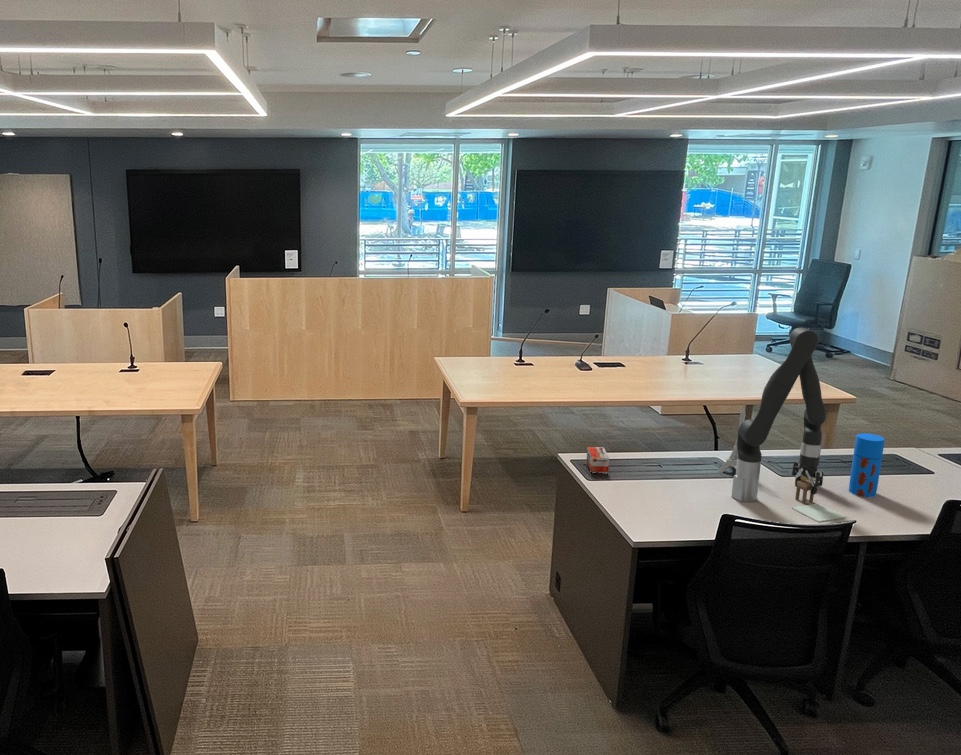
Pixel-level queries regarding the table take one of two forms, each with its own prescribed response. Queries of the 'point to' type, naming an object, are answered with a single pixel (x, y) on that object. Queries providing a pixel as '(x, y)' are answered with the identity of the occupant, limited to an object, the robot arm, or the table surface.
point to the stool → (804, 490)
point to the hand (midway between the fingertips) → (805, 490)
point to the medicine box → (597, 459)
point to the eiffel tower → (734, 456)
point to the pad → (819, 512)
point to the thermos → (866, 465)
